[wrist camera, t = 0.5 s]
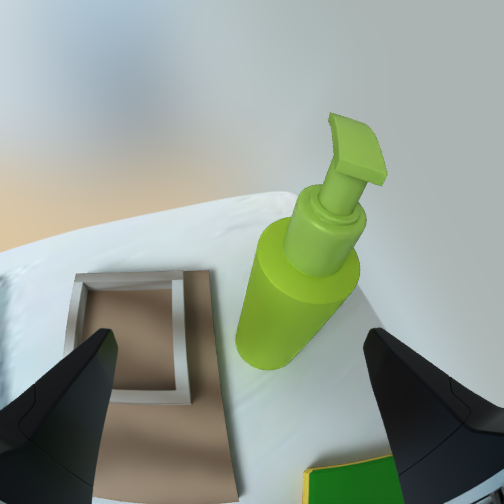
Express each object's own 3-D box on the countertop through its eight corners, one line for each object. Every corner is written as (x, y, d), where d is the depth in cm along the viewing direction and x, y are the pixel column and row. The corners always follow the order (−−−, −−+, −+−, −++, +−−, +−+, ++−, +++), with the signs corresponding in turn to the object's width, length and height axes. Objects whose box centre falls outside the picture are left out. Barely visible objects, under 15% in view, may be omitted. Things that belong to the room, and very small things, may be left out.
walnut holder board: (237, 499, 15) (241, 506, 13) (77, 490, 13) (64, 494, 11) (208, 275, 28) (208, 260, 26) (82, 279, 26) (73, 265, 24)
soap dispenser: (301, 310, 27) (400, 128, 12) (293, 375, 23) (446, 216, 8) (244, 297, 27) (292, 93, 12) (229, 362, 23) (278, 162, 8)
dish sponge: (423, 499, 15) (438, 499, 13) (299, 533, 14) (307, 540, 12) (424, 443, 19) (438, 441, 17) (301, 468, 18) (311, 470, 16)
